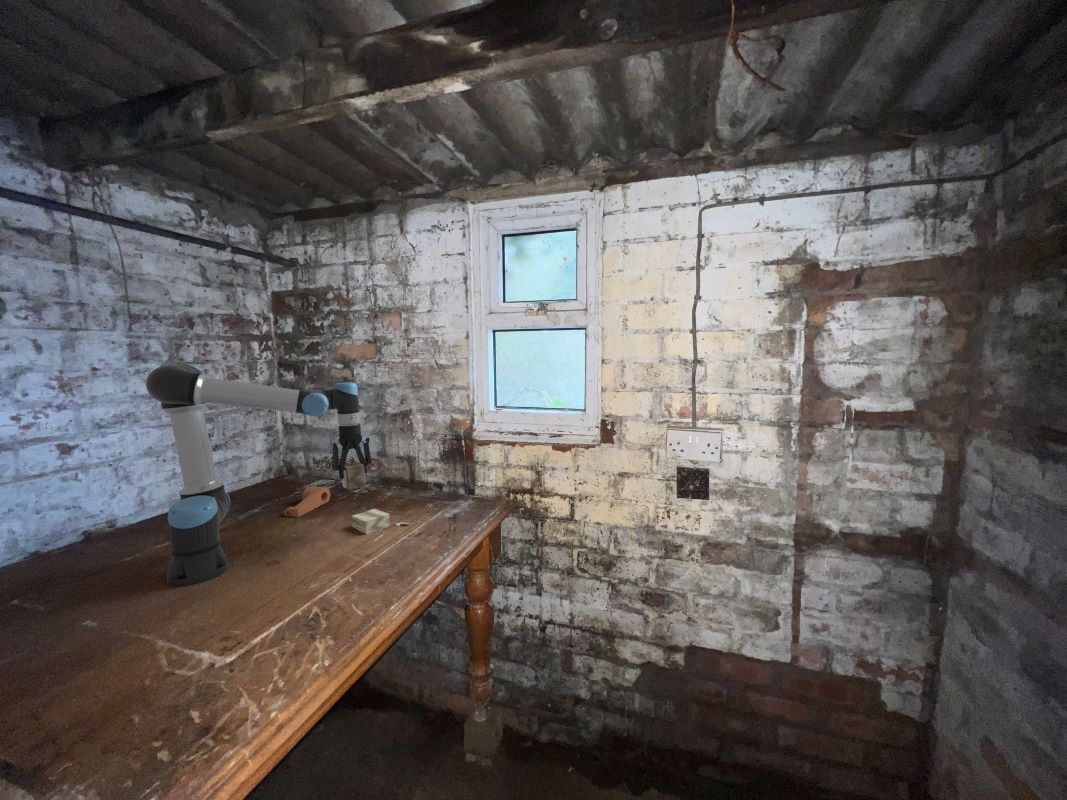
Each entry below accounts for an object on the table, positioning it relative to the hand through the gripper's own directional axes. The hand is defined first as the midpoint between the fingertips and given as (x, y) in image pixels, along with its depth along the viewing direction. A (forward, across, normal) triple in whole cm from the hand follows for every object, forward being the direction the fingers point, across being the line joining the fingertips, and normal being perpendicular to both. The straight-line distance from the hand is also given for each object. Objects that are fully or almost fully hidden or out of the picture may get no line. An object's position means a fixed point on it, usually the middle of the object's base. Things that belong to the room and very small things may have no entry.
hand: (354, 484), depth 161 cm
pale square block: (+18, +5, 0) cm, 19 cm away
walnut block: (0, 0, 0) cm, 0 cm away
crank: (+18, -6, +39) cm, 43 cm away
